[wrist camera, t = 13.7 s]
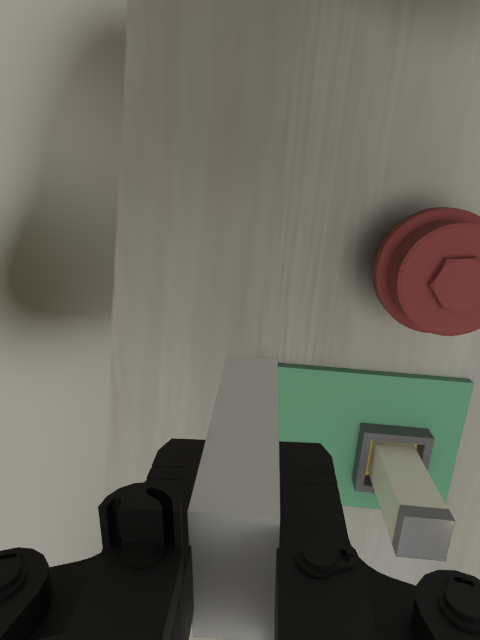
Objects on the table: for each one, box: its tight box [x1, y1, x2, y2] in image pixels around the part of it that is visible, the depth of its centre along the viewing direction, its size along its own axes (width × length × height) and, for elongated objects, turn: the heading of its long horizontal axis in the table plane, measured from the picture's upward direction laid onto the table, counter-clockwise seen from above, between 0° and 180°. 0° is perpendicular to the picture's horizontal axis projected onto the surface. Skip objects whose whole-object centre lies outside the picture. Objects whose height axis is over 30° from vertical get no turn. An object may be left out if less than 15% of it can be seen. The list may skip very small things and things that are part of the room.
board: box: [278, 363, 473, 509], centre depth 48 cm, size 16×24×3 cm, turn 86°
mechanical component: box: [373, 207, 480, 336], centre depth 38 cm, size 12×10×10 cm
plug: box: [367, 440, 455, 561], centre depth 43 cm, size 4×4×12 cm
